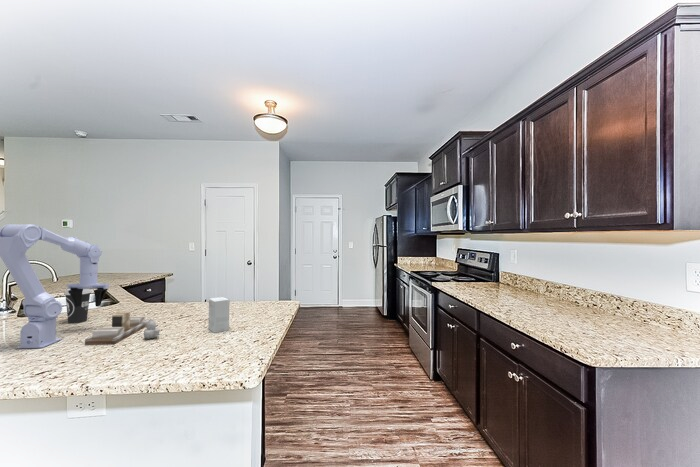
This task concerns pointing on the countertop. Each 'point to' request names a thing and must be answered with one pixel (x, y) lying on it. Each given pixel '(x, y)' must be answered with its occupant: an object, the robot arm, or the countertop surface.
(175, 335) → the countertop surface
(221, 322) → the small box
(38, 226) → the robot arm
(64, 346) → the countertop surface
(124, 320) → the block
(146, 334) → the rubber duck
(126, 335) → the rail board
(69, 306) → the coffee cup
